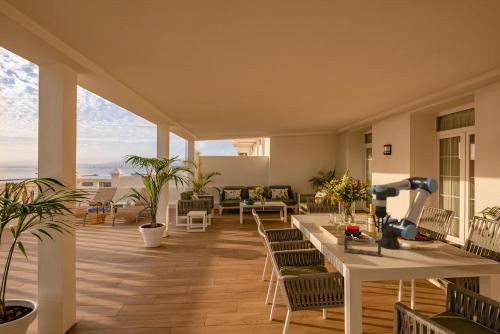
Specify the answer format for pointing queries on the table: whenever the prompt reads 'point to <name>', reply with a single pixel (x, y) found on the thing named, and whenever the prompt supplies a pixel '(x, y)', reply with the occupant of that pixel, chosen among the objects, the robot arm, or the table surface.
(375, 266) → the table surface
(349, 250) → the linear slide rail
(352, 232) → the red-and-black block model
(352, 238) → the rod
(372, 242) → the cream t-shaped block
